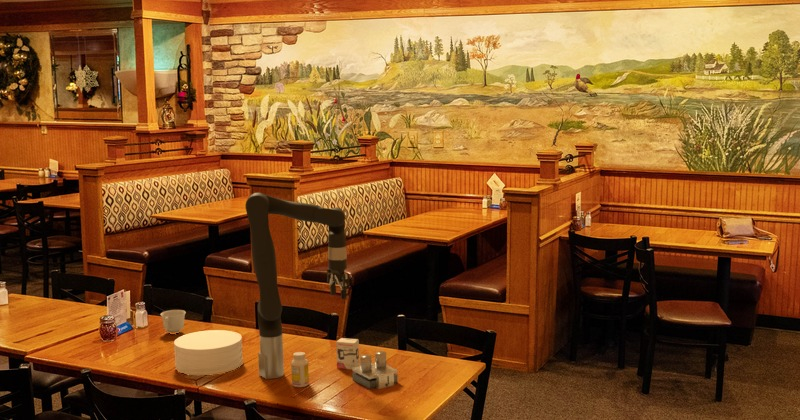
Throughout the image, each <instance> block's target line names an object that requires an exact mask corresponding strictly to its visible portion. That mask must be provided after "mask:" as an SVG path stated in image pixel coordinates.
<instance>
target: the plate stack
mask: <svg viewBox="0 0 800 420" xmlns="http://www.w3.org/2000/svg"><path fill="white" fill-rule="evenodd" d="M242 336H243V335H241V334H240V333H238V332H235V331H233V330H232V331H231V330H223V329H211V330H210V329H208V330H201V331H195V332H189V333H186V334H184V335H181V336H178V337H177V338H176V339H174V341H173V347H174V363H175V366H174V367H176V368H175V370H176V369H177V370H178V371H179V372H181V373H185V374H189V375H210V374H218V373H223V372H227V371H231V370H234V369H236V368H238V367H239V368H241V367H242V366H241V365H243V364H242V363H244V359H243V342H242V341H243V337H242ZM240 366H241V367H240ZM239 368H238V369H239ZM236 370H237V369H236ZM234 371H235V370H234ZM179 372H178V373H179ZM231 372H232V371H231ZM181 373H180V374H181ZM189 375H188V376H189Z"/></svg>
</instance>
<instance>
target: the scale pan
mask: <svg viewBox="0 0 800 420" xmlns="http://www.w3.org/2000/svg"><path fill="white" fill-rule="evenodd" d="M352 372H353V373H354V372H356V373H358V374H360V375H362V376H364V377H366V378H368V379H373V378H376V375H380V374H384V373H388V372H393V373H394V374H397V373H398V369H396V368H395V367H392V366H391V365H387V364H386V368H385V369H376V368H375V362H372V371H371V372H369V373H363V372H361V368H360V365H359V366H358V367H354V368H352Z"/></svg>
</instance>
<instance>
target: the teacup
mask: <svg viewBox="0 0 800 420" xmlns="http://www.w3.org/2000/svg"><path fill="white" fill-rule="evenodd" d="M186 313H187V312H186V311H185V310H183V309H170V310H165V311H162V312H161V313H160V316H161V318H162V324H163V328H164V330H165V331H166V332H171V333H175V332H179V331H180V332H181V330H183V328H184V326H185V325H184V324H185V315H186Z"/></svg>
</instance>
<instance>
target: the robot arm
mask: <svg viewBox="0 0 800 420" xmlns="http://www.w3.org/2000/svg"><path fill="white" fill-rule="evenodd" d="M244 208H245V211H246V214H247V219H248V224H249V228H250V245H251V246H250V248H251V258H252V259H251V260H252V265H253V271H254V274H255V278H256V281H257V284H258V290H259V300H258V302H257V323H258V334H259V352H258V353H257V354H258V376H259V377H261V376H262V377H261V378H262V379H264V378H265V380H271V379H273V380H274V379H278V378H279V379H280V378H282V377H284V374H285V369H284V368H285V367H284V346H283V345H284V342H283V326H282V325H283V324H282V319H281V317H282V316H281V315H282V312H283V305H282V304H283V303H282V302H281V297H280V293H279V287H278V269H277V268H278V267H277V256H276V251H275V250H276V249H275V244H274V242H273V238H272V233H271V231H270V224H269V223H270V221H269V215H278V216H283V217H287V218H291V219H294V220H298V221H302V222H307V223H315V224H316V223H318V224H321V225H325V226H328V236H327V237H328V238H327V239H328V240H327V241H328V243H327V244H328V245H327V246H328V247H327V249H328V250H327V265H328V266H327V268H328V269H326V283H327V284H328V285H329V287H330V295H332V296H334V295H336V294H337V286H339V287H340V299H341V300H345V299H347V290H349V289H350V288H351V287H350V274H349V273H345V270H348V269H347V268H348V256H347V255H348V253H347V244H346V242H347V240H346V232H345V231H346V229H345V227H346V213H345V211H344V210H343V209H341V208H340V207H332V208H326V207H322V206H320V205H319V204H318V205H316V204H310V203H305V202H298V201H290V200H286V199H282V198H278V197H277V198H276V197H274V196H270V195H268V194H265V193H262V192H254V193H252V194H250V195H249V196H248V197H247V199H246V201H245V207H244ZM336 284H337V285H336Z"/></svg>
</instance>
